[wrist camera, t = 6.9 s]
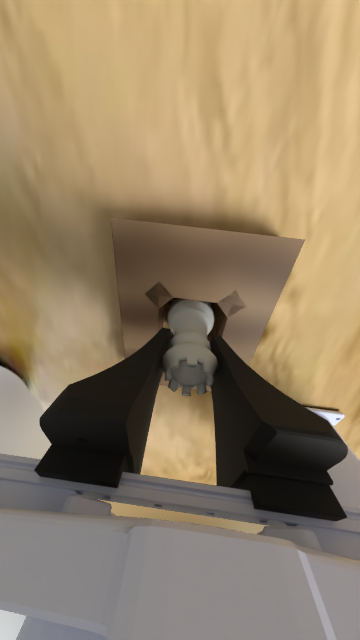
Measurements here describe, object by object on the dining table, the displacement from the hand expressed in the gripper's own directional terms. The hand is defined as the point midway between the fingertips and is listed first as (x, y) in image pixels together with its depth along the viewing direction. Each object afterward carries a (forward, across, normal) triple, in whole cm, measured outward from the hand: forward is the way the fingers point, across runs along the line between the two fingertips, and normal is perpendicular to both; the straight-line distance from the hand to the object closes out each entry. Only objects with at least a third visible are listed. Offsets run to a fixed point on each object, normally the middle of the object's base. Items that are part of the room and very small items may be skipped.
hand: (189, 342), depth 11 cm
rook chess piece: (+4, 0, 0) cm, 5 cm away
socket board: (+4, 0, 0) cm, 4 cm away
